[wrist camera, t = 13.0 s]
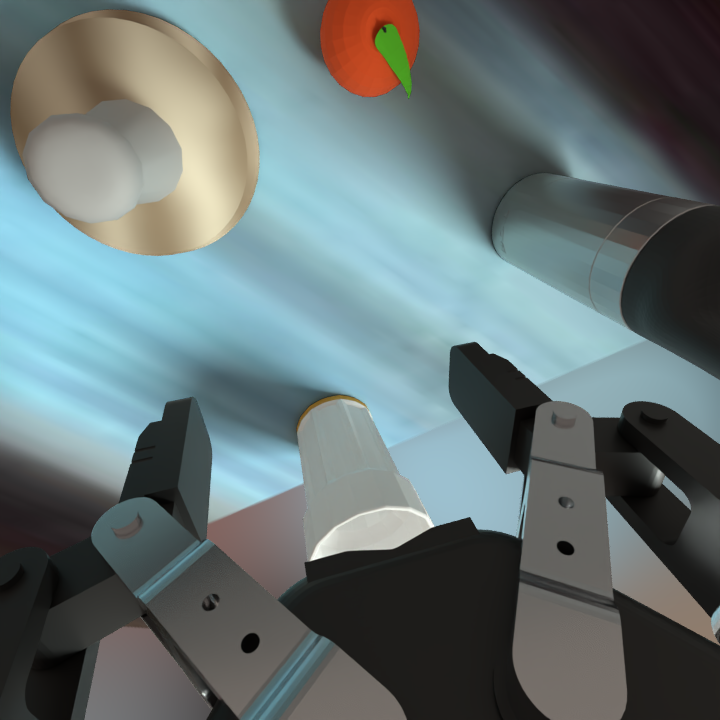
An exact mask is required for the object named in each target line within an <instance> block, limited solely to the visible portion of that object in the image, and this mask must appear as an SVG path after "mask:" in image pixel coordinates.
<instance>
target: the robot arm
mask: <svg viewBox="0 0 720 720" xmlns="http://www.w3.org/2000/svg"><path fill="white" fill-rule="evenodd" d="M492 239H493V244H494V247H495V249H496V251H497V253H498V254H499V255H500V257H501V258H502V259H503V260H505V261H506V262H508V263H510V264H511V265H513V266H515V267H517V268H519V269H521V270H522V271H524V272H526V273H527V274H529V275H531V276H533V277H535V278H536V279H538V280H540V281H542V282H544V283H546V284H547V285H549V286H551V287H553V288H555V289H556V290H558V291H560V292H562V293H564V294H566V295H567V296H569V297H571V298H573V299H575V300H576V301H578V302H580V303H582V304H584V305H586V306H587V307H589V308H591V309H593V310H595V311H596V312H598V313H600V314H602V315H604V316H606V317H608V318H610V319H611V320H613V321H615V322H617V323H619V324H620V325H622V326H624V327H626V328H628V329H629V330H631V331H633V332H635V333H637V334H638V335H640V336H642V337H644V338H646V339H648V340H650V341H652V342H654V343H656V344H658V345H659V346H661V347H663V348H665V349H667V350H669V351H671V352H673V353H674V354H676V355H678V356H680V357H681V358H683V359H685V360H687V361H689V362H690V363H692V364H694V365H696V366H698V367H699V368H701V369H703V370H704V371H706V372H708V373H709V374H711V375H712V376H714V377H716V378H718V379H719V380H720V206H716V205H712V204H706V203H701V202H696V201H691V200H686V199H680V198H674V197H669V196H664V195H658V194H653V193H648V192H643V191H638V190H632V189H627V188H622V187H617V186H612V185H607V184H601V183H596V182H591V181H586V180H581V179H577V178H571V177H566V176H561V175H555V174H549V173H538V174H534V175H531V176H528V177H526V178H524V179H523V180H521V181H519V182H518V183H517V184H515V185H514V186H513V187H512V188H511V189H510V190H509V191H508V192H507V194H506V195H505V196H504V197H503V199H502V201H501V202H500V204H499V206H498V208H497V210H496V213H495V216H494V219H493V225H492ZM449 393H450V397H451V400H452V402H453V404H454V405H455V406H456V408H457V409H458V410H459V412H460V413H461V415H462V416H463V417H464V419H465V420H466V421H467V423H468V424H469V425H470V427H471V428H472V429H473V431H474V432H475V433H476V435H477V436H478V437H479V439H480V440H481V441H482V443H483V444H484V445H485V447H486V448H487V449H488V451H489V452H490V453H491V455H492V456H493V457H494V459H495V460H496V461H497V463H498V464H499V465H500V467H501V468H502V469H503V471H504V472H505V473H506V474H509V473H513V472H516V471H520V470H521V471H522V473H523V474H524V479H523V486H522V494H521V502H520V510H519V517H518V526H517V534H516V537H515V536H512V535H509V534H506V533H502V532H497V531H492V530H477V529H476V527H475V525H474V523H473V522H472V520H471V518H470V517H469V518H465V519H461V520H458V521H454V522H451V523H447V524H443V525H439V526H436V527H432V528H430V529H428V530H426V531H425V532H423V533H421V534H420V535H418V536H416V537H414V538H413V539H411V540H409V541H407V542H406V543H404V544H402V545H400V546H399V547H397V548H394V549H387V550H357V551H345V552H341V553H338V554H334V555H330V556H327V557H323V558H319V559H316V560H312V561H309V562H305V568H306V575H307V577H305V578H304V579H302V580H300V581H298V582H297V583H296V584H294V585H293V586H292V587H290V588H289V589H288V590H287V591H286V592H285V593H284V594H282V595H281V597H279V598H278V600H277V599H276V598H274V597H273V596H272V595H271V594H270V593H269V592H268V591H267V590H265V589H264V588H263V587H262V586H261V585H260V584H259V583H258V582H256V581H255V580H254V579H253V578H252V577H251V576H250V575H249V574H247V573H246V572H245V571H244V570H243V569H242V568H241V567H240V566H239V565H237V564H236V563H235V562H234V561H233V560H232V559H231V558H230V557H228V556H227V555H226V554H225V553H224V552H223V551H221V549H219V548H218V547H217V546H216V545H215V544H214V543H213V542H211V541H210V540H208V539H206V536H207V522H208V508H209V494H210V480H211V466H212V448H211V442H210V438H209V435H208V432H207V429H206V426H205V423H204V421H203V418H202V415H201V412H200V409H199V406H198V403H197V401H196V399H195V398H194V397H190V398H185V399H180V400H175V401H170V402H167V403H166V405H165V409H164V413H163V417H162V421H157V422H152V423H150V424H149V425H148V426H147V427H146V429H145V430H144V431H143V432H142V433H141V434H140V436H139V438H138V441H137V444H136V448H135V453H134V454H133V458H132V464H130V467H129V471H128V474H127V477H126V481H125V484H124V487H123V491H122V494H121V497H120V501H119V504H117V505H116V506H114V507H112V508H111V509H110V510H108V511H107V512H106V513H105V514H104V515H103V516H102V517H101V518H100V519H99V520H98V522H97V523H96V525H95V526H94V528H93V531H92V536H90V537H89V538H87V539H85V540H83V541H81V542H79V543H77V544H75V545H73V546H71V547H69V548H67V549H65V550H63V551H61V552H59V553H57V554H55V555H52V556H50V557H49V556H48V555H47V554H46V552H45V551H44V550H42V549H40V548H37V547H27V548H22V549H18V550H15V551H13V552H10V553H8V554H6V555H4V556H2V557H1V558H0V720H84V718H85V712H86V708H87V702H88V698H89V693H90V688H91V683H92V678H93V673H94V668H95V663H96V658H97V653H98V648H99V643H100V640H101V639H102V638H104V637H106V636H107V635H109V634H111V633H113V632H114V631H116V630H118V629H119V628H121V627H123V626H125V625H126V624H128V623H130V622H131V621H133V620H135V619H137V618H138V617H141V618H142V619H143V621H144V622H145V623H146V624H147V626H148V627H149V628H150V629H151V631H152V632H153V633H154V634H155V636H156V637H157V638H158V640H159V641H160V642H161V643H162V645H163V646H164V647H165V648H166V650H167V651H168V652H169V653H170V655H171V656H172V657H173V658H174V660H175V661H176V662H177V664H178V665H179V666H180V668H181V669H182V670H183V672H184V673H185V674H186V676H187V677H188V679H189V680H190V681H191V683H192V684H193V686H194V687H195V688H196V690H197V691H198V693H199V694H200V695H201V697H202V698H203V699H204V700H205V702H206V703H207V704H208V706H209V707H210V708H211V709H212V711H211V713H210V714H209V716H208V718H207V720H720V646H719V645H717V644H716V643H714V642H712V641H710V640H708V639H706V638H705V637H703V636H701V635H699V634H697V633H695V632H693V631H691V630H690V629H687V628H686V627H684V626H682V625H680V624H679V623H677V622H675V621H673V620H671V619H669V618H667V617H666V616H664V615H662V614H660V613H658V612H656V611H654V610H652V609H651V608H649V607H647V606H645V605H643V604H641V603H639V602H638V601H636V600H634V599H632V598H630V597H628V596H627V595H625V594H623V593H621V592H619V591H617V590H615V589H614V588H612V577H611V576H612V575H611V563H610V550H609V537H608V524H607V512H606V499H605V497H606V498H607V499H608V501H609V502H610V503H611V504H612V505H613V506H614V507H615V509H616V510H617V511H618V512H619V513H620V514H621V515H622V517H623V518H624V519H625V520H626V521H627V522H628V523H629V525H630V526H631V527H632V528H633V529H634V530H635V531H636V533H637V534H638V535H639V536H640V537H641V538H642V539H643V541H644V542H645V543H646V544H647V545H648V546H649V548H650V549H651V550H652V551H653V552H654V553H655V554H656V556H657V557H658V558H659V559H660V560H661V561H662V562H663V564H664V565H665V566H666V567H667V568H668V569H669V570H670V571H671V573H672V574H673V575H674V576H675V577H676V578H677V580H678V581H679V582H680V583H681V584H682V585H683V586H684V587H685V589H686V590H687V591H688V592H689V593H690V594H691V596H692V597H693V598H694V599H695V600H696V601H697V602H698V604H699V605H700V606H701V607H702V608H703V609H704V610H705V612H706V613H707V614H708V615H709V616H710V617H711V625H712V629H713V632H714V635H715V637H716V638H717V640H718V642H719V644H720V444H718V443H717V442H716V441H714V440H713V439H712V438H710V437H709V436H708V435H706V434H705V433H703V432H702V431H701V430H700V429H698V428H697V427H695V426H694V425H693V424H691V423H690V422H689V421H687V420H686V419H685V418H683V417H682V416H680V415H679V414H678V413H676V412H675V411H673V410H671V409H670V408H667V407H665V406H662V405H660V404H656V403H652V402H643V401H638V402H632V403H629V404H627V405H625V406H624V408H623V411H622V414H621V417H620V418H594V417H591V416H590V414H589V413H588V412H586V411H585V410H584V409H582V408H581V407H579V406H576V405H574V404H571V403H567V402H561V401H552V400H551V399H550V398H549V397H548V396H547V395H546V394H544V393H543V392H542V391H541V390H540V389H539V388H538V387H537V386H536V385H535V384H533V383H532V382H531V381H530V380H529V379H528V378H526V377H525V375H524V374H522V373H521V372H520V371H518V370H517V368H516V367H515V366H514V365H513V364H512V363H510V362H509V361H508V360H507V359H504V358H502V357H500V356H498V355H496V354H488V353H487V352H486V351H485V350H484V349H483V348H482V347H481V346H480V345H479V344H478V343H476V342H471V343H466V344H461V345H456V346H453V347H452V348H451V351H450V366H449ZM665 476H666V477H668V478H669V479H670V480H671V481H672V482H673V483H674V484H675V485H676V486H677V487H679V489H681V490H682V491H683V492H684V493H685V495H686V496H687V498H688V500H689V501H690V504H691V510H690V509H689V508H687V507H686V506H685V505H684V504H683V503H682V502H681V501H680V500H679V499H678V498H677V497H676V496H675V495H674V494H673V493H672V492H670V490H668V489H667V488H666V487H665V486H664V485H663V484H662V482H663V480H664V477H665Z"/></svg>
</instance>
